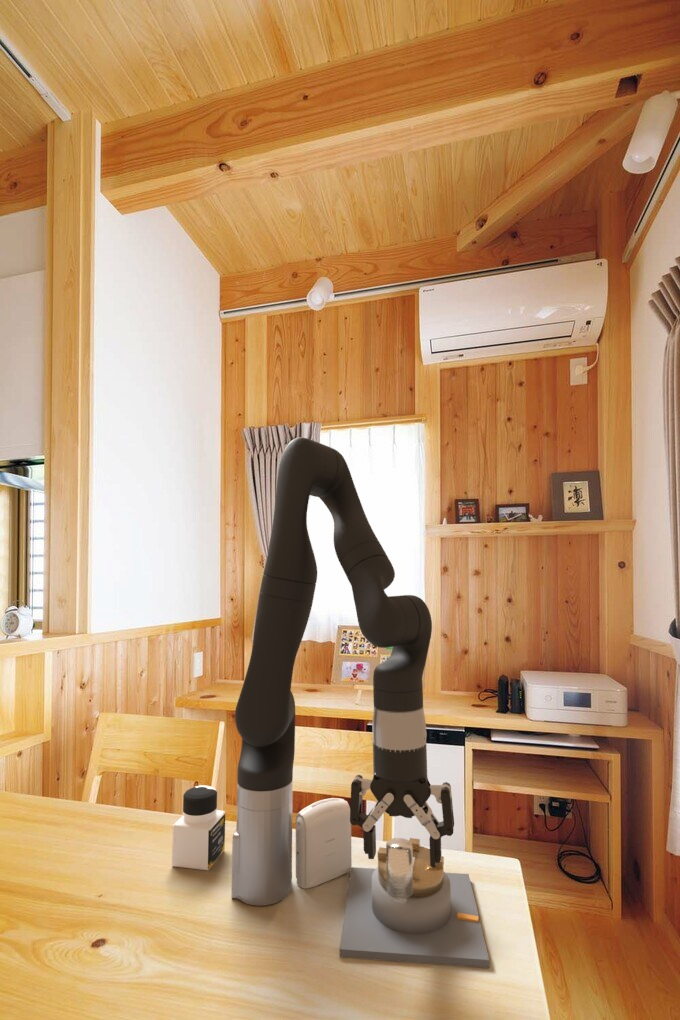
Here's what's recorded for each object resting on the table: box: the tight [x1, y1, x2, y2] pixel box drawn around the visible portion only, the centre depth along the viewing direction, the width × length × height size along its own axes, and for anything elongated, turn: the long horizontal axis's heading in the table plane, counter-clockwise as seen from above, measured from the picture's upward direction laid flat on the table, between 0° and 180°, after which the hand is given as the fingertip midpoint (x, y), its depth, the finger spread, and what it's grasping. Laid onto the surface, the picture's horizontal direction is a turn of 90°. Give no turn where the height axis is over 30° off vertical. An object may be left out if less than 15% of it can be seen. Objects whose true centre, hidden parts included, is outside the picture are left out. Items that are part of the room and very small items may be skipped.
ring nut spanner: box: [377, 837, 445, 903], centre depth 80 cm, size 17×10×10 cm, turn 164°
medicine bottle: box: [171, 784, 226, 871], centre depth 99 cm, size 7×7×12 cm
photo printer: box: [295, 797, 352, 890], centre depth 93 cm, size 10×4×12 cm, turn 124°
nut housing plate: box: [339, 866, 490, 969], centre depth 83 cm, size 20×20×5 cm
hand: (402, 860), depth 75 cm, fingers open, 8 cm apart
